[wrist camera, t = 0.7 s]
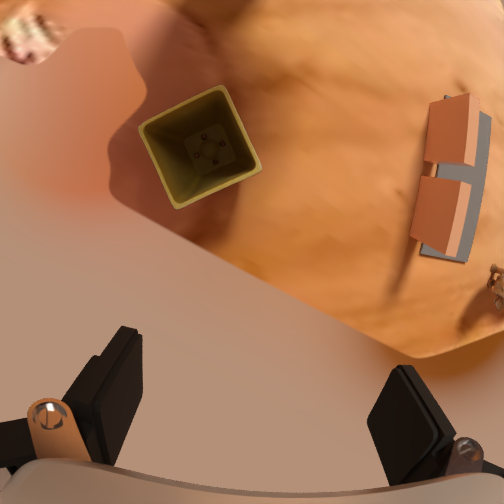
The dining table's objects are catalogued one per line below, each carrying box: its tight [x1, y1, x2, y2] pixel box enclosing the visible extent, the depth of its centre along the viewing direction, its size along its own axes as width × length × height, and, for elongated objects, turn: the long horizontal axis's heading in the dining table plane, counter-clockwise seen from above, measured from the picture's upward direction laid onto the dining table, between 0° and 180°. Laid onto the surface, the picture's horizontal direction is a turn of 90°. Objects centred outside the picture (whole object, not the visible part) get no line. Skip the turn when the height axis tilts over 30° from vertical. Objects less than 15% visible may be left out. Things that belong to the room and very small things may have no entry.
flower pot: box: [138, 85, 262, 210], centre depth 30 cm, size 9×9×9 cm
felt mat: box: [420, 95, 491, 262], centre depth 35 cm, size 22×9×1 cm, turn 171°
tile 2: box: [424, 93, 480, 167], centre depth 29 cm, size 8×2×9 cm, turn 171°
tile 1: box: [409, 176, 471, 257], centre depth 32 cm, size 8×2×9 cm, turn 171°
